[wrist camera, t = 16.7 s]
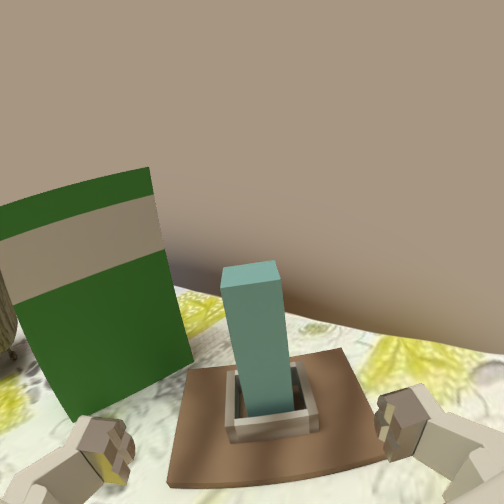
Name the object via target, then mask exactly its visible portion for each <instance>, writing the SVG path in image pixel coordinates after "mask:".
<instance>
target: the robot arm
mask: <svg viewBox="0 0 504 504" xmlns="http://www.w3.org/2000/svg"><path fill="white" fill-rule="evenodd" d="M377 405H378V407H379V410H378V411H377V412H376V413H375V417H374V428H375V431H376V434H377V437H378V439H380V440H382V441H383V442H385V443H384V446H383V450H384V452H385V454H386V456H387V459H388V461H389V463H391V462H394V461H397V460H401V459H404V458H407V457H410V456H413V457H414V458H416V459H417V460H419V461H420V462H422V463H423V464H425V465H426V466H428V467H430V468H431V469H433V470H434V471H436V472H438V473H439V474H441V475H442V476H444V477H446V478H447V479H449V480H451V483H450V484H449V486H448V487H447V488H446V490H445V491H444V493H443V495H442V496H443V498H444V500H445V502H446V503H444V504H504V433H503V432H500V431H497V430H494V429H492V428H489V427H486V426H484V425H481V424H478V423H476V422H473V421H470V420H468V419H465V418H463V417H460V416H458V415H455V414H453V413H450V412H448V413H445V412H444V411H443V409H442V408H441V407H440V405H439V404H438V403H437V401H436V400H435V398H434V397H433V396H432V394H431V393H430V392H429V390H428V389H427V388H426V386H425V385H424V384H422V383H420V384H417V385H414V386H411V387H408V388H404V389H400V390H397V391H394V392H390V393H387V394H383V395H380V396H379V398H378V402H377ZM125 429H126V426H125V424H124V422H123V420H119V419H109V418H101V417H92V416H85V415H82V416H80V417H79V418H78V420H77V422H76V424H75V425H74V427H73V429H72V431H71V433H70V435H69V437H68V439H67V441H66V443H65V445H64V447H59V448H57V449H56V450H54V451H52V452H51V453H49V454H48V455H46V456H44V457H43V458H41V459H40V460H38V461H36V462H35V463H33V464H31V465H30V466H28V467H27V468H25V469H23V470H22V471H20V472H18V473H17V474H15V475H14V477H13V479H12V481H11V483H10V484H9V486H8V488H7V490H6V492H5V494H4V496H3V498H2V500H1V499H0V504H83V503H84V502H85V501H87V500H88V499H89V498H90V497H91V496H92V495H93V494H94V493H95V492H96V491H97V490H98V489H99V488H100V487H101V486H102V485H103V484H104V482H106V483H112V484H120V485H127V481H128V478H129V474H130V469H129V467H128V465H129V464H130V463H131V462H132V461H133V460H134V456H135V444H134V441H133V439H132V437H131V435H129V434H128V433H127V432H125Z"/></svg>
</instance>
